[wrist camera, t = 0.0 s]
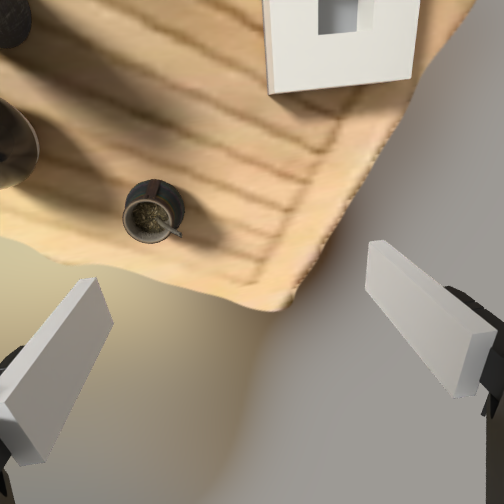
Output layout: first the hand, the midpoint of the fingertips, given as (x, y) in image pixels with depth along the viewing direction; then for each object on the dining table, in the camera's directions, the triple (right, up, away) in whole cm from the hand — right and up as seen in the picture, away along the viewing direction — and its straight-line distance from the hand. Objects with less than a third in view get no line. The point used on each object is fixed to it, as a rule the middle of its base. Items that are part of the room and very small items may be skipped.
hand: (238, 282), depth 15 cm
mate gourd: (-12, +8, +26) cm, 30 cm away
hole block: (+9, +28, +19) cm, 35 cm away
